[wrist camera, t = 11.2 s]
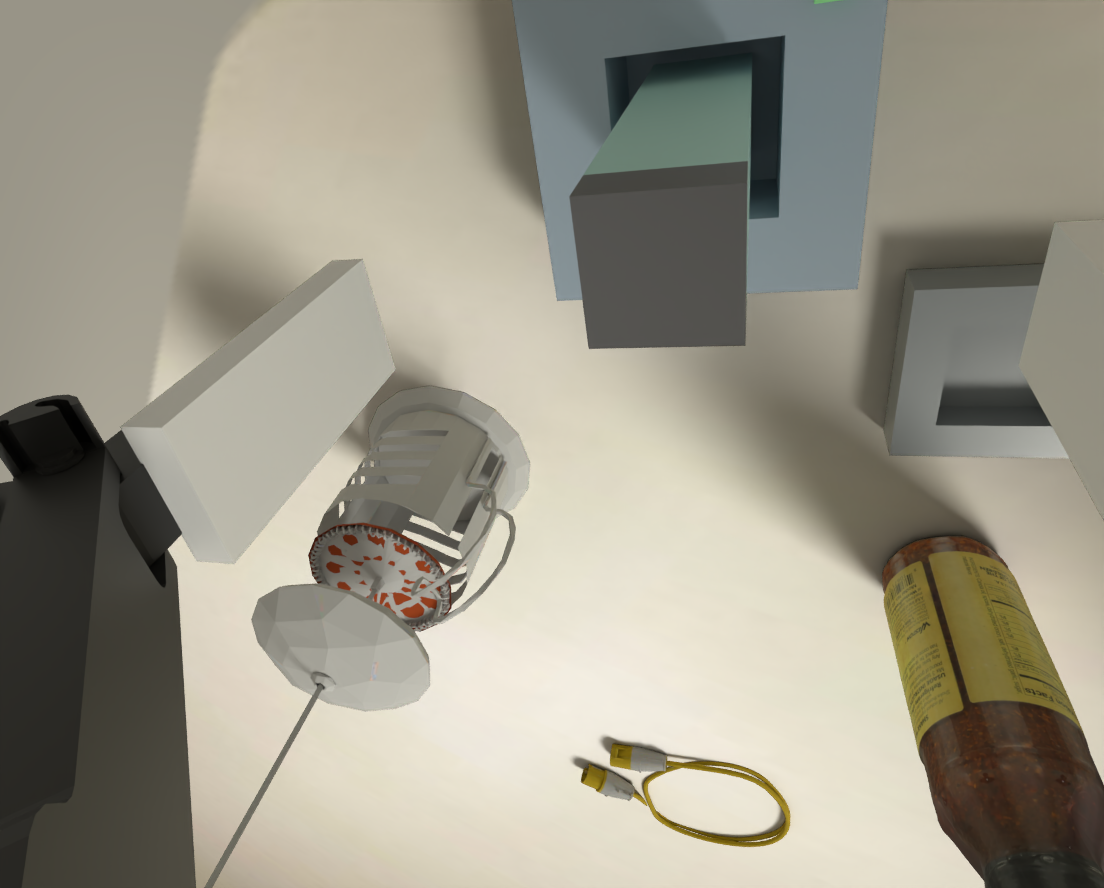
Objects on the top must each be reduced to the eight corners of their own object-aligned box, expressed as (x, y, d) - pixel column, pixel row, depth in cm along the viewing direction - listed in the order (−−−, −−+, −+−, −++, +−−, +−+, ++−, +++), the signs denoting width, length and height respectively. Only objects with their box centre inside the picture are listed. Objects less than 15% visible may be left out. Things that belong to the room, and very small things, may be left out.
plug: (751, 153, 28) (745, 345, 16) (660, 161, 29) (588, 348, 17) (752, 52, 26) (747, 183, 14) (654, 64, 27) (569, 196, 15)
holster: (1079, 432, 32) (1095, 459, 30) (883, 430, 34) (889, 455, 33) (1136, 259, 27) (1158, 281, 26) (906, 269, 30) (914, 290, 28)
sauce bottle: (905, 622, 41) (994, 1059, 25) (859, 549, 39) (926, 981, 23) (1034, 592, 38) (1226, 1072, 22) (992, 509, 35) (1174, 983, 20)
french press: (335, 417, 42) (-39, 871, 22) (499, 349, 36) (199, 866, 17) (429, 537, 46) (185, 1006, 26) (588, 492, 41) (431, 1036, 21)
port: (844, 237, 29) (858, 293, 25) (581, 252, 32) (554, 305, 28) (874, -96, 23) (899, -96, 19) (544, -40, 26) (503, -29, 22)
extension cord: (681, 707, 51) (679, 732, 50) (823, 816, 55) (825, 842, 54) (570, 754, 58) (564, 777, 57) (703, 848, 62) (702, 872, 61)
